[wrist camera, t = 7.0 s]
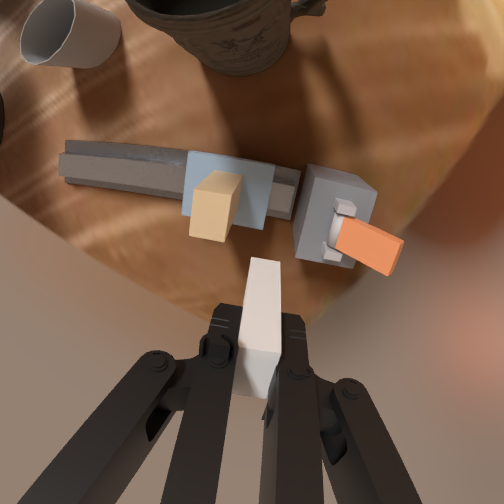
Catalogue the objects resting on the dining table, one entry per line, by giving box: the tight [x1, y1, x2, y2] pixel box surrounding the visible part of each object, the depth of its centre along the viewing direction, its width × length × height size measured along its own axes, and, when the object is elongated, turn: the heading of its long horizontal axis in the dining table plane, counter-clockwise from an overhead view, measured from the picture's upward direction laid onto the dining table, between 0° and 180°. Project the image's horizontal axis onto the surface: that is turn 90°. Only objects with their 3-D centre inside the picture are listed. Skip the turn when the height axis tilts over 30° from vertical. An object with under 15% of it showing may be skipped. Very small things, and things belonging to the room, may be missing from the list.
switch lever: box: [326, 212, 404, 276], centre depth 25 cm, size 1×3×7 cm
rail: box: [59, 140, 301, 220], centre depth 34 cm, size 31×6×2 cm, turn 80°
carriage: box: [181, 150, 276, 242], centre depth 29 cm, size 9×7×11 cm
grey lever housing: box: [292, 163, 377, 269], centre depth 30 cm, size 6×8×10 cm
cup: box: [20, 0, 122, 69], centre depth 23 cm, size 8×8×10 cm
